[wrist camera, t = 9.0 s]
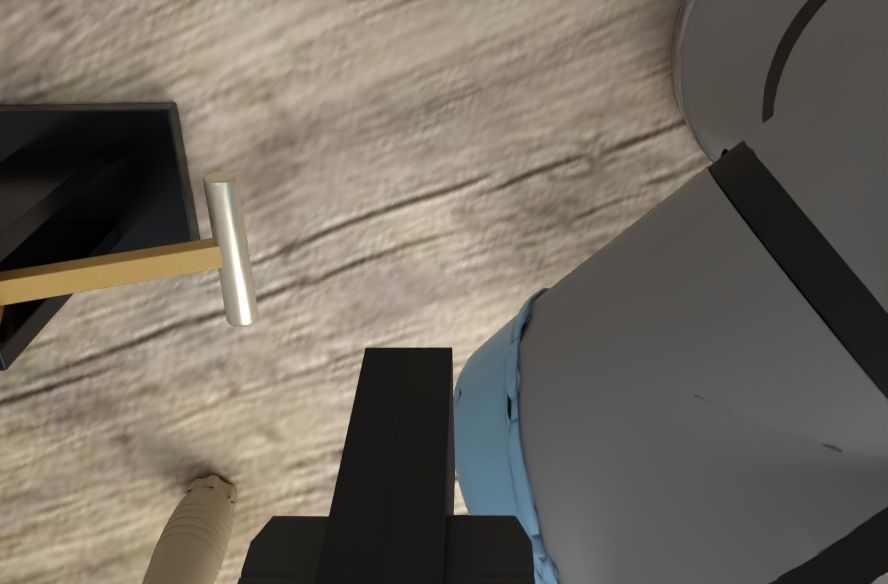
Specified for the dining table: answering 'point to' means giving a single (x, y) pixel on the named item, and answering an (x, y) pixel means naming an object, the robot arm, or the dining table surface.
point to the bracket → (85, 193)
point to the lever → (158, 261)
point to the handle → (195, 535)
